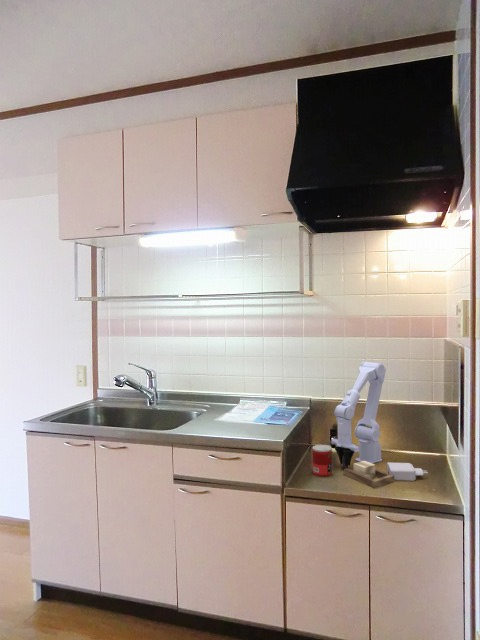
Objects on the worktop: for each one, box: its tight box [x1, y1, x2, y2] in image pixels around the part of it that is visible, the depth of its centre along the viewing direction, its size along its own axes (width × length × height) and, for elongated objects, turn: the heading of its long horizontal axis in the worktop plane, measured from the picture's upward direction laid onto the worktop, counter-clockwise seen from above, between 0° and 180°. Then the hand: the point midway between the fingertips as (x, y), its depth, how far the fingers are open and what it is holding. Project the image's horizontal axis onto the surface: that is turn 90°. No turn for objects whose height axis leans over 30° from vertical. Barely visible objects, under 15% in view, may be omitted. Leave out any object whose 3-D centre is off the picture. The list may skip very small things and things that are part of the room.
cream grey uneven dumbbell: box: [341, 455, 376, 479], centre depth 195 cm, size 6×15×6 cm, turn 31°
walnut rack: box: [343, 468, 395, 489], centre depth 189 cm, size 11×17×2 cm, turn 31°
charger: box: [386, 462, 429, 482], centre depth 190 cm, size 5×9×15 cm
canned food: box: [311, 444, 333, 478], centre depth 195 cm, size 8×8×11 cm
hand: (345, 464), depth 200 cm, fingers closed on cream grey uneven dumbbell, 2 cm apart
